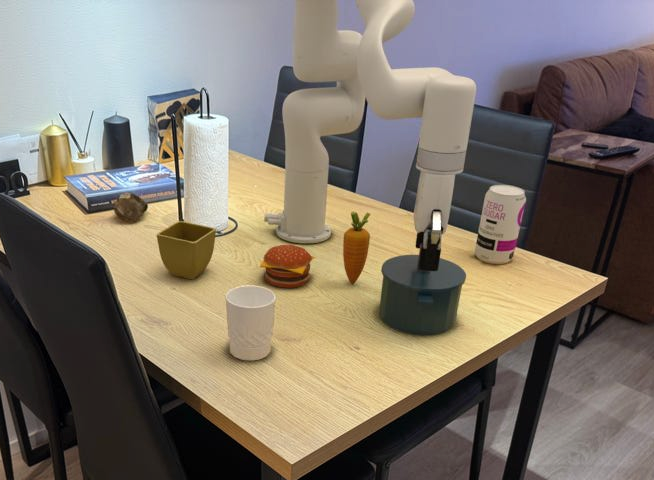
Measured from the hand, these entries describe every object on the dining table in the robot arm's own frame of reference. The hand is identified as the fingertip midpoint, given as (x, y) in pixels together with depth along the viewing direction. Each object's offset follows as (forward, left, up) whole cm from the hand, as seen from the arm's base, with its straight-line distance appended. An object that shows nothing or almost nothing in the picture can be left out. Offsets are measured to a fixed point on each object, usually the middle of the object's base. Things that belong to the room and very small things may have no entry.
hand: (426, 258), depth 119 cm
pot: (0, 0, -11) cm, 11 cm away
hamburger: (-25, +12, -12) cm, 30 cm away
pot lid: (0, 0, -3) cm, 3 cm away
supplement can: (+18, +31, -12) cm, 38 cm away
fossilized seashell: (-66, +40, -12) cm, 78 cm away
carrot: (-12, +12, -12) cm, 21 cm away
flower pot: (-45, +11, -12) cm, 48 cm away
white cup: (-28, -17, -12) cm, 35 cm away
